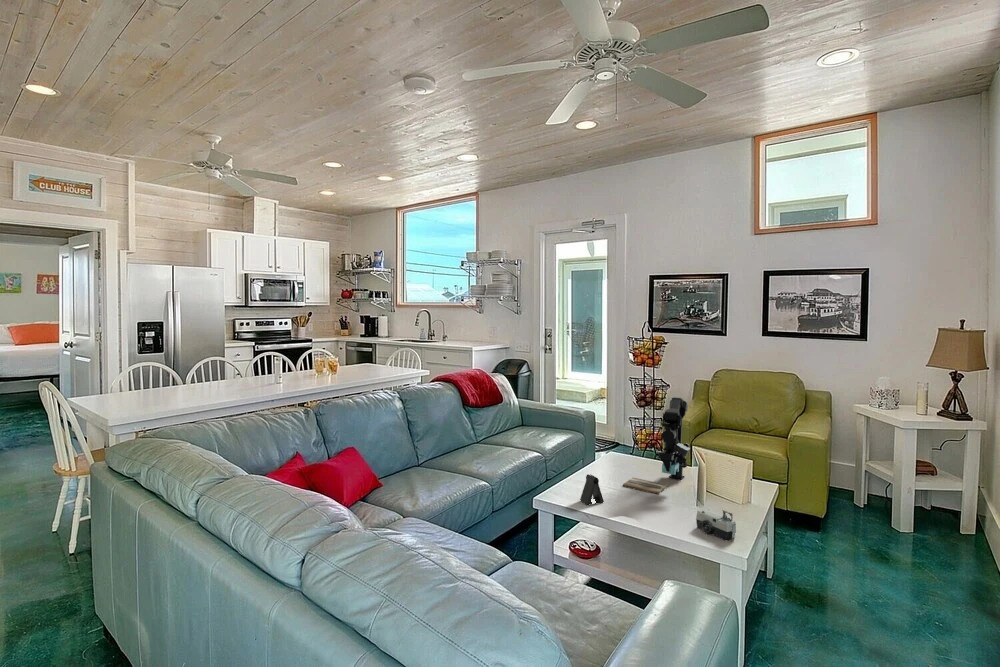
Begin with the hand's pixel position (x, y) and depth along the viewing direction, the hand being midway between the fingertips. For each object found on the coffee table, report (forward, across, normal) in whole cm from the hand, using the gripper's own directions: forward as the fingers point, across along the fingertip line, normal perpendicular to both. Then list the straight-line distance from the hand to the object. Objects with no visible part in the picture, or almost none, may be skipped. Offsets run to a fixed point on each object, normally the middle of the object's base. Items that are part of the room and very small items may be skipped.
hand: (670, 469), depth 245 cm
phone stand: (+11, -34, +25) cm, 44 cm away
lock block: (+1, 0, 0) cm, 1 cm away
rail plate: (+11, 0, +12) cm, 16 cm away
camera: (+11, -35, -28) cm, 46 cm away
